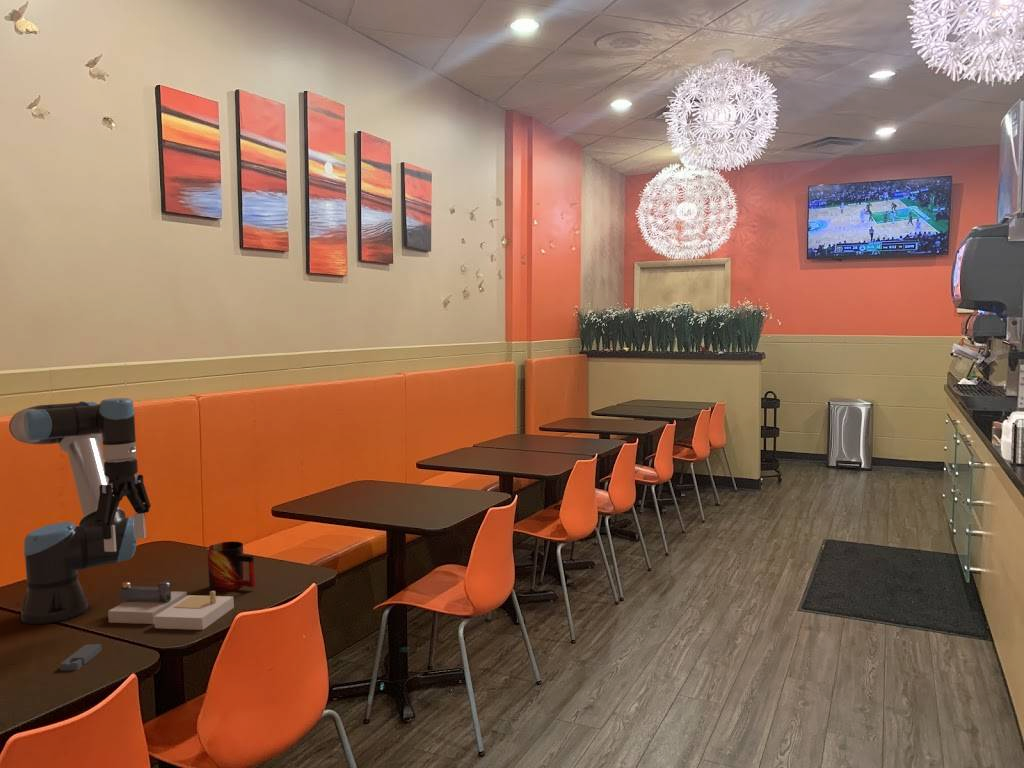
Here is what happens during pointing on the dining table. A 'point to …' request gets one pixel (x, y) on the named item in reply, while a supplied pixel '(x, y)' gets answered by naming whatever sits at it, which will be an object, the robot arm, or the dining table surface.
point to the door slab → (194, 612)
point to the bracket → (80, 657)
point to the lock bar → (146, 592)
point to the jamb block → (142, 610)
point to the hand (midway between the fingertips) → (125, 544)
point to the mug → (228, 567)
